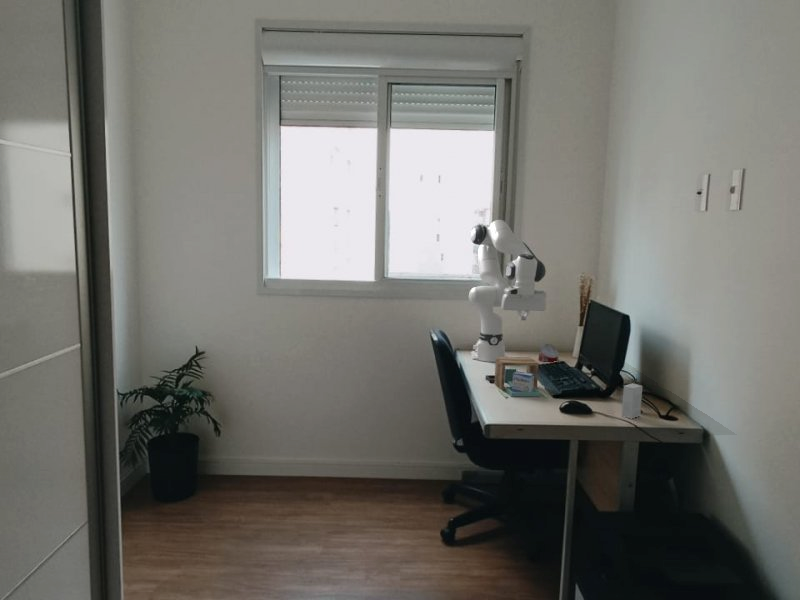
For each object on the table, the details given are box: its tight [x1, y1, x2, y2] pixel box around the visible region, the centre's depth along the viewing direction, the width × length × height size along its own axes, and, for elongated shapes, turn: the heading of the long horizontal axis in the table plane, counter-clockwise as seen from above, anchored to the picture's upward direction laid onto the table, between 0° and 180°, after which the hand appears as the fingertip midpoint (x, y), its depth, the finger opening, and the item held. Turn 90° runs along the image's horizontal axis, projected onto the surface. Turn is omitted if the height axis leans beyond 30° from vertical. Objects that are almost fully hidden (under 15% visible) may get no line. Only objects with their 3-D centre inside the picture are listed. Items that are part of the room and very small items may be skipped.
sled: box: [504, 368, 541, 397], centre depth 234 cm, size 22×12×6 cm, turn 6°
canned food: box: [538, 343, 560, 363], centre depth 287 cm, size 11×10×10 cm
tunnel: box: [493, 356, 539, 392], centre depth 236 cm, size 10×16×12 cm, turn 96°
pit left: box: [485, 374, 495, 384], centre depth 246 cm, size 7×5×2 cm
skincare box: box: [621, 383, 643, 419], centre depth 202 cm, size 6×4×12 cm
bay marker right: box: [537, 388, 549, 399], centre depth 228 cm, size 10×1×1 cm, turn 7°
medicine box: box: [511, 370, 534, 392], centre depth 227 cm, size 8×4×9 cm, turn 62°
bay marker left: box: [498, 388, 509, 399], centre depth 226 cm, size 10×1×1 cm, turn 6°
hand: (522, 320), depth 249 cm, fingers closed
